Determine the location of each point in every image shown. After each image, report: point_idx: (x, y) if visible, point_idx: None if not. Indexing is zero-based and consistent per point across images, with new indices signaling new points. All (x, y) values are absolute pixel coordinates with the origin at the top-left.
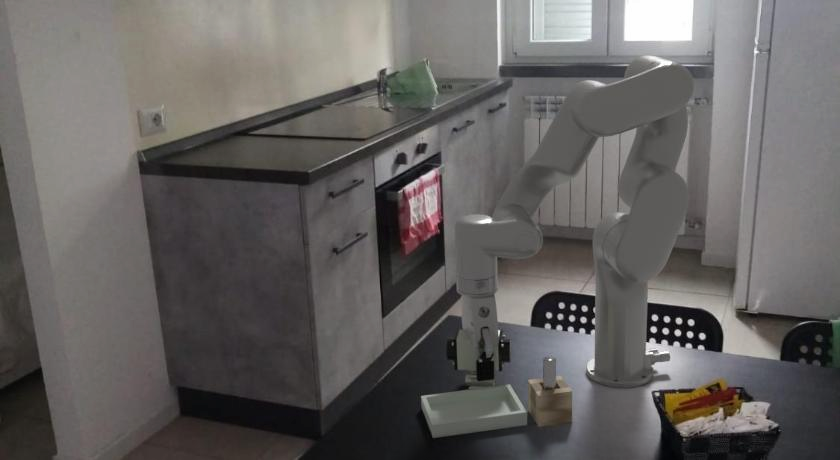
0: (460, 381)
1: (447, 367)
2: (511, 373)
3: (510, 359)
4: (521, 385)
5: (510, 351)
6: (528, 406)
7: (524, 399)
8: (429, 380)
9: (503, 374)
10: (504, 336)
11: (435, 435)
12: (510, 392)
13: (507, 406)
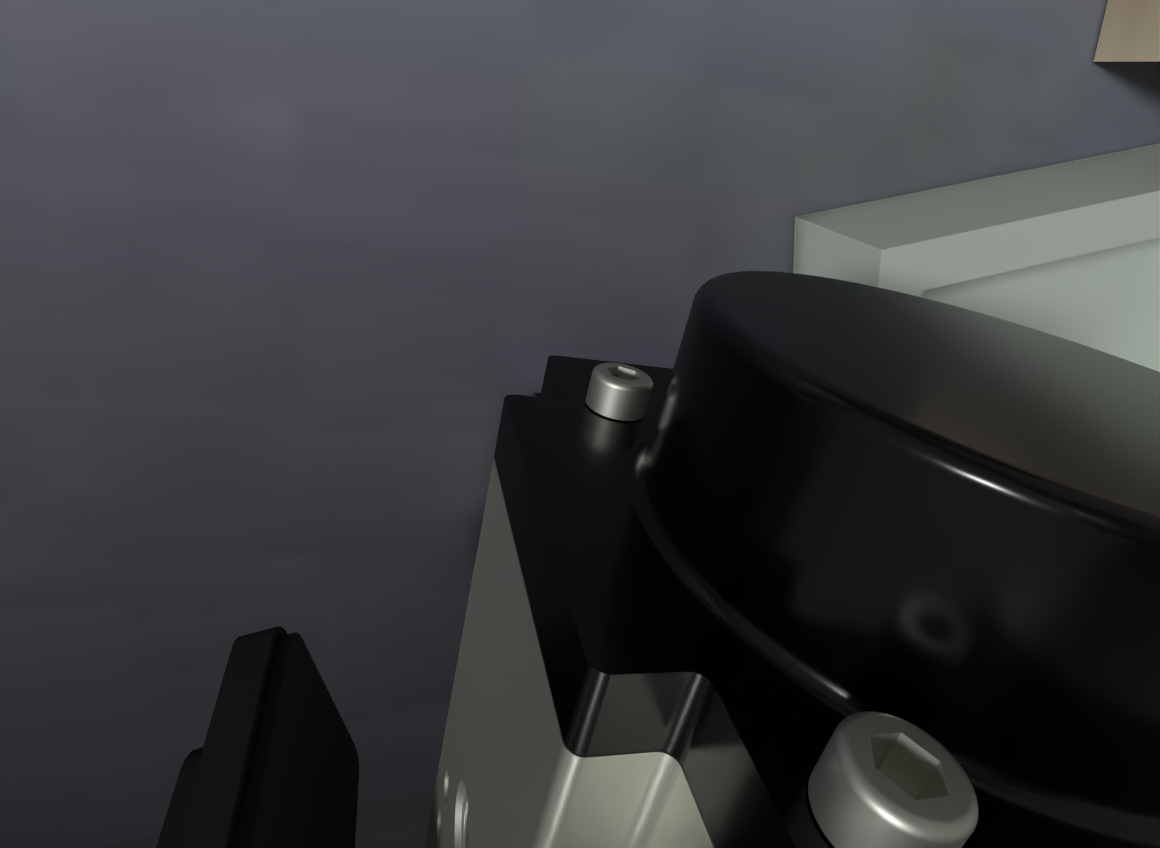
0: (436, 626)
1: (149, 745)
2: (223, 126)
3: (930, 307)
4: (579, 37)
5: (1022, 366)
6: (1146, 60)
7: (893, 62)
8: (410, 800)
9: (264, 240)
10: (964, 818)
11: None
12: (1050, 260)
13: (1017, 270)
